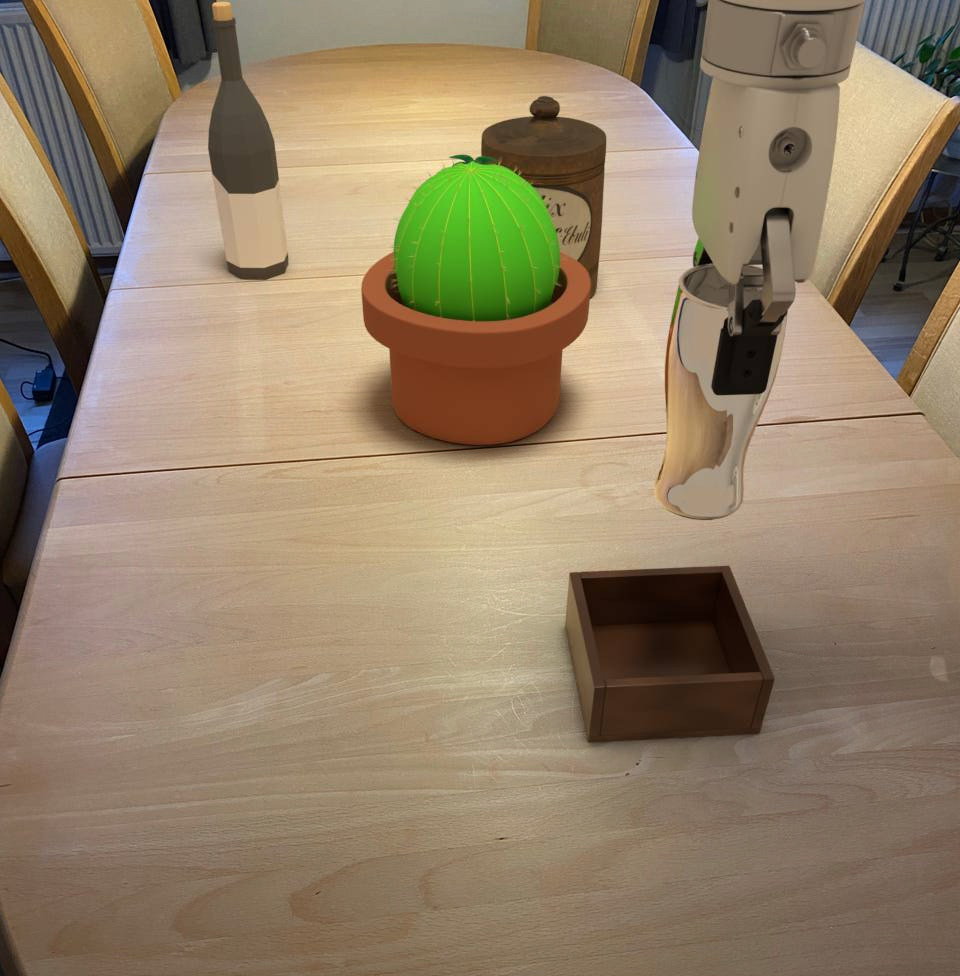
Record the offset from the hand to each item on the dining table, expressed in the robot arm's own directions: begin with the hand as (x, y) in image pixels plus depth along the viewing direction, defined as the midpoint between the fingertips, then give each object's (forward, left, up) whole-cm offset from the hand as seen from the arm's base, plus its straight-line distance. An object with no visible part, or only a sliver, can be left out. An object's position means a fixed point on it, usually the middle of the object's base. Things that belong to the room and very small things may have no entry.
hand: (722, 359), depth 64 cm
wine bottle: (+39, -76, -25) cm, 89 cm away
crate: (+2, +3, -25) cm, 25 cm away
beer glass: (0, 0, -10) cm, 10 cm away
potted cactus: (+13, -39, -25) cm, 48 cm away
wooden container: (+3, -68, -25) cm, 73 cm away
